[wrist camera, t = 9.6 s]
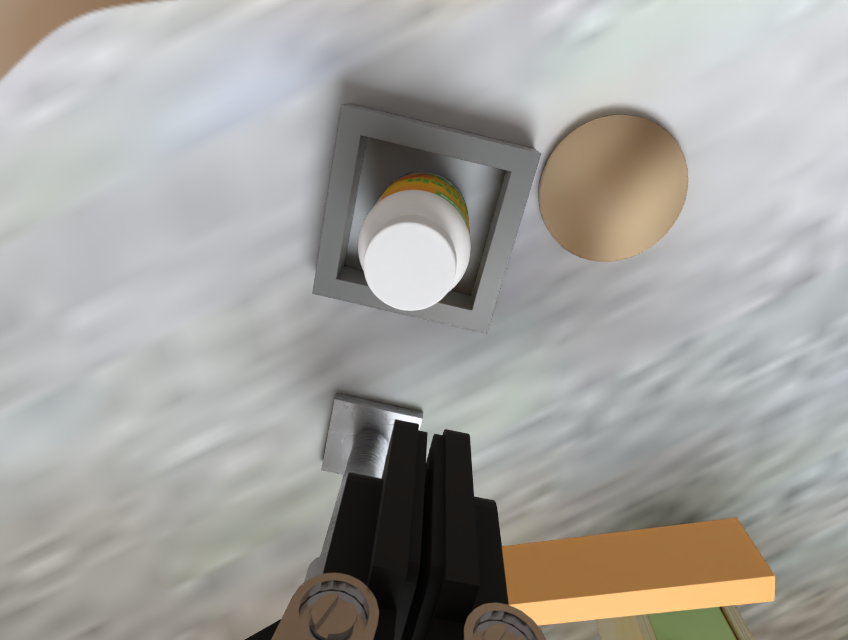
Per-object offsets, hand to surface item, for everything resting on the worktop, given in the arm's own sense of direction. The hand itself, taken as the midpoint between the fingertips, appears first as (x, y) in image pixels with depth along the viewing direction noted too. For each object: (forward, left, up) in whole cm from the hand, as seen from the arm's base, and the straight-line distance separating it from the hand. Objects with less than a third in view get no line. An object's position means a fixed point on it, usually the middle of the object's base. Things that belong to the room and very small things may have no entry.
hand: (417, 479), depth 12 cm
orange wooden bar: (-7, +12, -10) cm, 17 cm away
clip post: (+1, +15, -22) cm, 27 cm away
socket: (+1, -1, -22) cm, 22 cm away
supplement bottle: (+1, -1, -22) cm, 22 cm away
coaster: (-9, -5, -22) cm, 24 cm away
